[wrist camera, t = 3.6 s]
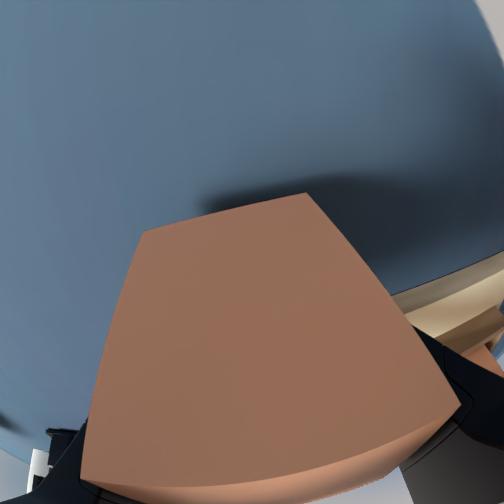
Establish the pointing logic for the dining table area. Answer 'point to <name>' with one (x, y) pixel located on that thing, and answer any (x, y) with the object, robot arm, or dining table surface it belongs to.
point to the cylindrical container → (38, 466)
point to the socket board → (462, 310)
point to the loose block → (257, 366)
